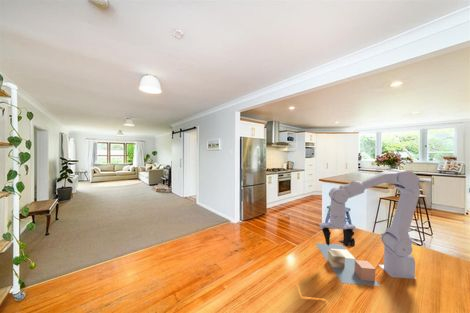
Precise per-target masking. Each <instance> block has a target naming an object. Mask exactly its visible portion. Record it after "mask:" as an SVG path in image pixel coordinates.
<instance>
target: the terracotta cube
mask: <svg viewBox="0 0 470 313" xmlns="http://www.w3.org/2000/svg"><path fill="white" fill-rule="evenodd" d="M376 270H377V269H376V268H375V267H374V266H373V265H372V263H370V262H369V261H367V260H357V259H356V260H355V270H354V272H355V273H356V274H357V275H358V277H359V278H360V279H361V280H365V281H375V280H376Z"/></svg>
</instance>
